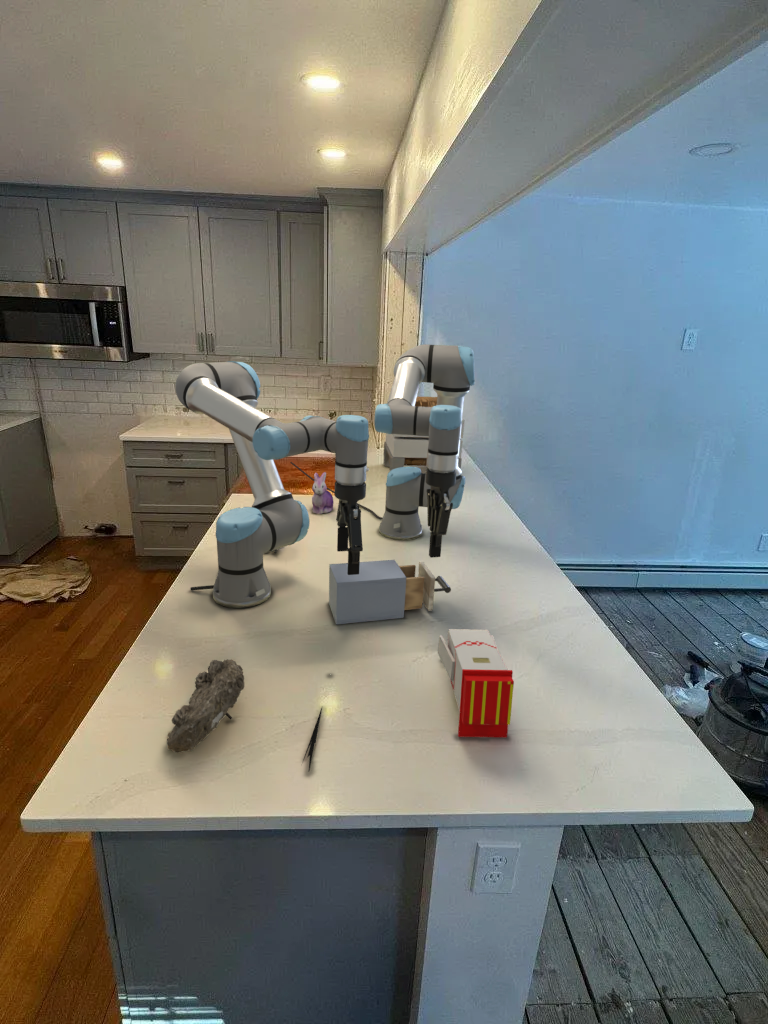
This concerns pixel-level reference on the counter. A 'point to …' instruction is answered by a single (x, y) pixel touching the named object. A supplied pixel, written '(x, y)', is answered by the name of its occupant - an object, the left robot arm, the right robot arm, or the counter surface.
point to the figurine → (321, 495)
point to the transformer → (411, 444)
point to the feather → (313, 740)
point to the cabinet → (367, 592)
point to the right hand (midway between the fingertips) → (434, 556)
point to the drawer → (421, 586)
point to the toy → (478, 682)
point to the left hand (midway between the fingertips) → (347, 562)
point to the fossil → (206, 705)
